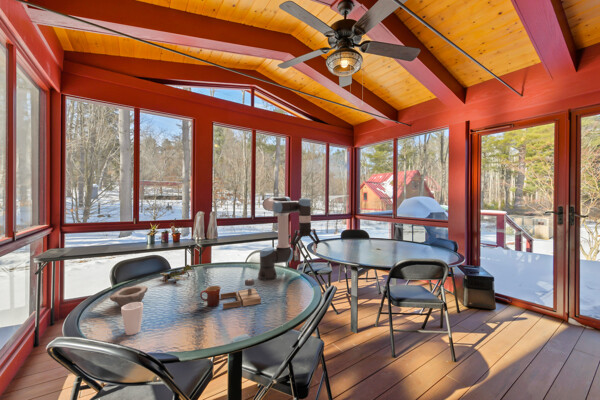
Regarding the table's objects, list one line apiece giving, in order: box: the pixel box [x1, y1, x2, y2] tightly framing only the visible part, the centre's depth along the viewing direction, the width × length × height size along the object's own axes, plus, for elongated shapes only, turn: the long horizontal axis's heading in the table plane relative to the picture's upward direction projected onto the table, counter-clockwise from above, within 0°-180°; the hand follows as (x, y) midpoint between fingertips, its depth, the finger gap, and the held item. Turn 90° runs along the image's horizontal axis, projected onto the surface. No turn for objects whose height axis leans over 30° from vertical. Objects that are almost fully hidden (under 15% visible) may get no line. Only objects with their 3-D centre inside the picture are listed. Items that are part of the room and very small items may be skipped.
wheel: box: [244, 278, 255, 287], centre depth 173 cm, size 6×6×3 cm
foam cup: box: [120, 301, 144, 336], centre depth 134 cm, size 10×9×13 cm
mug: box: [199, 285, 221, 308], centre depth 164 cm, size 12×9×10 cm
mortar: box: [109, 285, 149, 308], centre depth 165 cm, size 17×17×9 cm
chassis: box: [220, 288, 262, 310], centre depth 170 cm, size 18×22×6 cm
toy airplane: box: [159, 264, 194, 284], centre depth 212 cm, size 31×25×10 cm
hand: (305, 254), depth 175 cm, fingers open, 13 cm apart
